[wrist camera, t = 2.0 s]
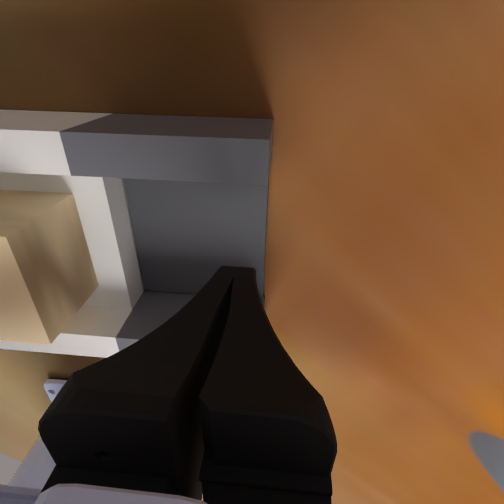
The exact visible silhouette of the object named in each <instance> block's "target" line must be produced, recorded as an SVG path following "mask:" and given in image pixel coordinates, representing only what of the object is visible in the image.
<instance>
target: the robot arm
mask: <svg viewBox="0 0 504 504" xmlns="http://www.w3.org/2000/svg"><path fill="white" fill-rule="evenodd" d="M44 388H45V390H46V392H47V394H48V396H49V399H50V401H51V404H50V406H49V407H48V409H47V410H46V412H45V413H44V415H43V416H42V418H41V419H40V421H39V426H38V430H39V433H40V436H39V437H38V439H37V440H36V442H35V443H34V445H33V446H32V448H31V450H30V451H29V453H28V454H27V456H26V457H25V459H24V460H23V462H22V464H21V465H20V467H19V468H18V470H17V471H16V473H15V474H14V476H13V477H12V479H11V481H10V482H9V484H8V485H1V484H0V504H331V496H332V481H331V471H332V468H333V464H334V461H335V457H336V454H337V441H336V436H335V432H334V428H333V424H332V421H331V418H330V415H329V412H328V410H327V407H326V405H325V402H324V400H323V397H322V396H321V395H320V394H319V393H318V392H317V390H316V389H315V388H314V387H313V386H312V385H311V384H310V383H309V381H308V380H307V379H306V378H305V377H304V375H303V374H302V373H301V372H300V370H299V369H298V368H297V367H296V365H295V364H294V362H293V361H292V359H291V358H290V356H289V355H288V354H287V352H286V351H285V349H284V348H283V346H282V344H281V343H280V341H279V339H278V338H277V336H276V334H275V332H274V330H273V328H272V326H271V324H270V322H269V320H268V317H267V315H266V313H265V310H264V307H263V305H262V302H261V298H260V295H259V292H258V288H257V283H256V270H255V269H254V268H251V267H236V266H221V267H219V268H218V270H217V271H216V272H215V273H214V275H213V276H212V277H211V278H210V279H209V281H208V282H207V283H206V284H205V285H204V286H203V287H202V288H201V289H200V290H199V292H198V293H197V294H196V295H195V296H194V297H193V298H192V299H191V300H190V301H189V302H188V303H187V304H185V305H184V306H183V307H182V308H181V309H180V310H179V311H178V312H177V313H176V314H174V315H173V316H172V317H171V318H170V319H168V320H167V321H166V322H165V323H163V324H162V325H161V326H159V327H158V328H157V329H155V330H154V331H152V332H151V333H149V334H148V335H146V336H144V337H143V338H141V339H140V340H138V341H137V342H135V343H133V344H132V345H130V346H128V347H126V348H125V349H123V350H121V351H119V352H117V353H115V354H113V355H111V356H109V357H107V358H105V359H103V360H101V361H99V362H97V363H94V364H92V365H90V366H88V367H86V368H83V369H81V370H79V371H76V372H74V373H73V374H72V375H71V376H70V378H69V379H68V380H57V379H48V380H46V382H45V383H44ZM202 493H203V501H201V499H202Z"/></svg>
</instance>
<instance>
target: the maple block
mask: <svg viewBox="0 0 504 504" xmlns="http://www.w3.org/2000/svg"><path fill="white" fill-rule="evenodd" d="M98 286H99V285H98V281H97V278H96V274H95V271H94V267H93V263H92V260H91V256H90V253H89V249H88V245H87V242H86V238H85V235H84V231H83V227H82V224H81V220H80V217H79V213H78V210H77V206H76V202H75V199H74V195H73V193H56V192H36V191H17V190H0V340H4V341H16V342H28V343H40V344H52V343H53V341H54V340H55V339H56V338H57V336H58V335H59V334H60V333H61V331H62V330H63V329H64V328H65V327H66V325H67V324H68V323H69V322H70V320H71V319H72V318H73V317H74V315H75V314H76V313H77V312H78V311H79V309H80V308H81V307H82V306H83V304H84V303H85V302H86V301H87V299H88V298H89V297H90V296H91V295H92V293H93V292H94V291H95V290H96V288H97V287H98Z"/></svg>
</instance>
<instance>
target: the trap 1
mask: <svg viewBox="0 0 504 504" xmlns="http://www.w3.org/2000/svg"><path fill="white" fill-rule="evenodd" d="M123 179H124V184H125V190H126V195H127V200H128V205H129V211H130V216H131V221H132V227H133V232H134V237H135V242H136V248H137V253H138V258H139V263H140V269H141V274H142V279H143V284H144V290H146V291H160V292H174V293H188V294H197V293H198V292H199V290H200V289H201V288H202V287H203V286H204V285H205V284H206V283H207V282H208V281H209V279H210V278H211V277H212V276H213V275H214V273H215V272H216V271H217V270H218V268H219V267H221V266H236V267H251V268H254V269H255V270H256V283H257V288H258V292H259V295H260V298H261V299H263V288H264V266H265V244H266V222H267V200H268V185H255V184H234V183H213V182H192V181H171V180H150V179H129V178H123Z"/></svg>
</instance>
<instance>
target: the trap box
mask: <svg viewBox="0 0 504 504" xmlns="http://www.w3.org/2000/svg"><path fill="white" fill-rule="evenodd" d="M273 121H274V119H261V118H232V117H203V116H174V115H145V114H116V113H86V112H57V111H28V110H0V190H17V191H36V192H56V193H73V195H74V199H75V202H76V206H77V210H78V213H79V217H80V220H81V224H82V227H83V231H84V235H85V238H86V242H87V245H88V249H89V253H90V256H91V260H92V263H93V267H94V271H95V274H96V278H97V281H98V285H99V286H98V287H97V288H96V290H95V291H94V292H93V293H92V295H91V296H90V297H89V298H88V299H87V301H86V302H85V303H84V304H83V306H82V307H81V308H80V309H79V311H78V312H77V313H76V314H75V315H74V317H73V318H72V319H71V320H70V322H69V323H68V324H67V325H66V327H65V328H64V329H63V330H62V331H61V333H60V334H59V335H58V336H57V338H56V339H55V340H54V341H53V343H52V344H40V343H28V342H16V341H4V340H0V349H9V350H21V351H33V352H44V353H56V354H68V355H79V356H91V357H103V358H107V357H109V356H111V355H113V354H115V353H117V352H119V351H121V350H123V349H125V348H126V347H128V346H130V345H132V344H133V343H135V342H137V341H138V340H140V339H141V338H143V337H144V336H146V335H148V334H149V333H151V332H152V331H154V330H155V329H157V328H158V327H159V326H161V325H162V324H163V323H165V322H166V321H167V320H168V319H170V318H171V317H172V316H173V315H174V314H176V313H177V312H178V311H179V310H180V309H181V308H182V307H183V306H184V305H185V304H187V303H188V302H189V301H190V300H191V299H192V298H193V297H194V296H195V295H196V294H188V293H174V292H160V291H146V290H144V284H143V279H142V274H141V269H140V263H139V258H138V253H137V248H136V242H135V237H134V232H133V227H132V221H131V216H130V211H129V205H128V200H127V195H126V190H125V184H124V179H123V178H129V179H150V180H171V181H192V182H213V183H234V184H255V185H268V178H269V171H270V164H271V157H272V141H273ZM261 302H262V305H263V307H264V304H265V296H263V299H261Z"/></svg>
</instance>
